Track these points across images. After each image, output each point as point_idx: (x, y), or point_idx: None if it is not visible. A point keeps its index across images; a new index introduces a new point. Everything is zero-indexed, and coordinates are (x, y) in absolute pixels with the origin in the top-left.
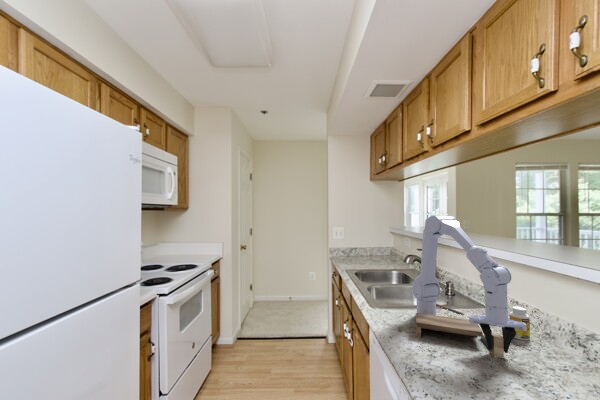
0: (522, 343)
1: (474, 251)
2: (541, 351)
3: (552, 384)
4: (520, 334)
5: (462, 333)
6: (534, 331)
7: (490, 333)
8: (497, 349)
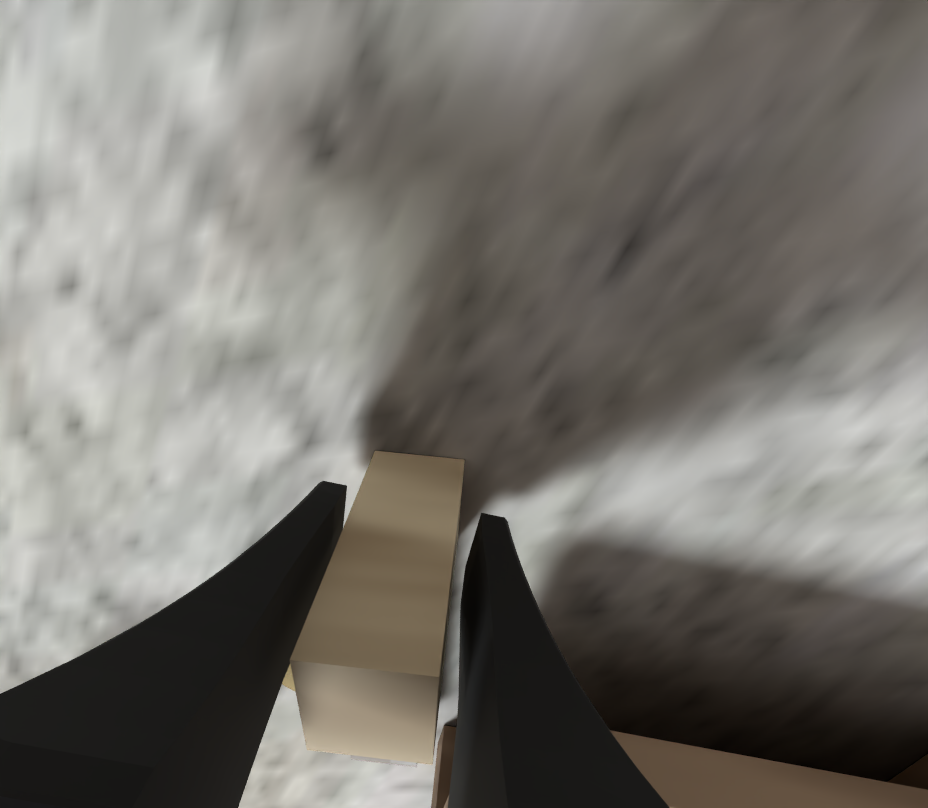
0: None
1: None
2: (18, 588)
3: None
4: None
5: (692, 749)
6: None
7: (519, 744)
8: (421, 515)
